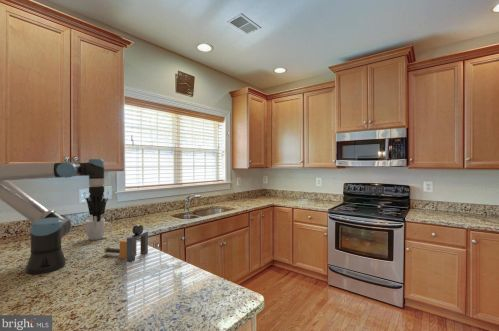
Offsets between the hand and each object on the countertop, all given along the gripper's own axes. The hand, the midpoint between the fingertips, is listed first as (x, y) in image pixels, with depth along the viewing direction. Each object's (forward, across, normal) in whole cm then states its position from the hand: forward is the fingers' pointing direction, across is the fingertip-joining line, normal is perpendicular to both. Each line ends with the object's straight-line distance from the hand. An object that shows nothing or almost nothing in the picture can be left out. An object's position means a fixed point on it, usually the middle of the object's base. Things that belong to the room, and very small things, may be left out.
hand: (96, 227), depth 140 cm
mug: (+15, +22, -24) cm, 36 cm away
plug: (+15, -15, 0) cm, 21 cm away
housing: (+15, -26, 0) cm, 30 cm away
